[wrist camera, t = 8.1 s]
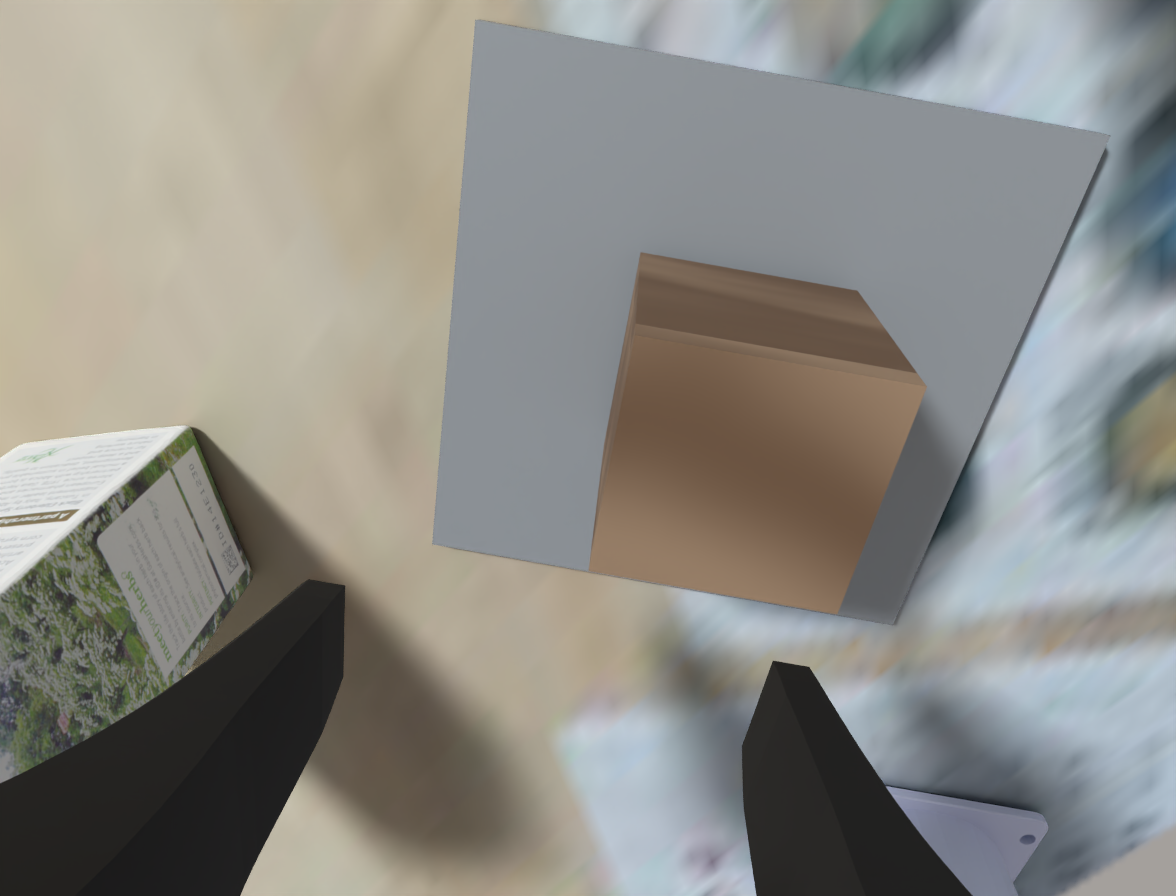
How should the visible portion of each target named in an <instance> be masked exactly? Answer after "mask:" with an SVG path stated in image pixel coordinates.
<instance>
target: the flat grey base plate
mask: <svg viewBox="0 0 1176 896" xmlns="http://www.w3.org/2000/svg"><path fill="white" fill-rule="evenodd" d="M1109 138H1110V136H1109V135H1106V134H1102V133H1098V132H1092V131H1087V130H1081V129H1076V128H1070V127H1065V126H1059V125H1054V124H1048V123H1043V122H1037V121H1032V120H1027V119H1021V118H1016V117H1010V116H1005V115H999V114H994V113H988V112H983V111H977V110H972V109H966V108H961V107H955V106H950V105H944V104H939V103H933V102H928V101H922V100H917V99H911V98H906V97H901V96H895V95H890V94H884V93H879V92H873V91H868V90H862V89H857V88H851V87H846V86H840V85H835V84H829V83H824V82H818V81H813V80H807V79H802V78H796V77H791V76H785V75H780V74H774V73H769V72H764V71H758V70H753V69H747V68H742V67H736V66H731V65H725V64H720V63H714V62H709V61H703V60H698V59H692V58H687V57H681V56H676V55H670V54H665V53H659V52H654V51H648V50H643V49H638V48H632V47H627V46H621V45H616V44H610V43H605V42H599V41H594V40H588V39H583V38H577V37H572V36H566V35H561V34H555V33H550V32H544V31H539V30H533V29H528V28H522V27H517V26H512V25H506V24H501V23H495V22H490V21H484V20H475V31H474V43H473V55H472V67H471V80H470V92H469V104H468V116H467V128H466V140H465V153H464V165H463V177H462V189H461V201H460V214H459V226H458V238H457V250H456V262H455V274H454V287H453V299H452V311H451V323H450V335H449V347H448V360H447V372H446V384H445V396H444V408H443V420H442V433H441V445H440V457H439V469H438V481H437V493H436V506H435V518H434V530H433V542H432V544H434V545H440V546H445V547H451V548H457V549H463V550H468V551H474V552H480V553H485V554H491V555H497V556H502V557H508V558H514V559H519V560H525V561H531V562H536V563H542V564H548V565H553V566H559V567H565V568H570V569H576V570H582V571H588V572H591V571H589V562H590V554H591V546H592V538H593V530H594V522H595V514H596V506H597V497H598V489H599V481H600V473H601V465H602V457H603V449H604V442H605V436H606V431H607V426H608V421H609V415H610V410H611V405H612V400H613V394H614V389H615V384H616V379H617V373H618V368H619V363H620V358H621V352H622V347H623V342H624V337H625V331H626V326H627V321H628V316H629V310H630V305H631V300H632V295H633V289H634V284H635V279H636V274H637V268H638V263H639V258H640V253H641V252H643V253H648V254H654V255H660V256H665V257H671V258H676V259H682V260H688V261H693V262H699V263H705V264H710V265H716V266H722V267H727V268H733V269H738V270H744V271H750V272H755V273H761V274H767V275H772V276H778V277H784V278H789V279H795V280H801V281H806V282H812V283H817V284H823V285H829V286H834V287H840V288H846V289H851V290H857V291H858V292H859V293H860V295H861V296H862V297H863V299H864V300H865V302H866V303H867V304H868V306H869V307H870V309H871V310H872V311H873V313H874V314H875V315H876V317H877V318H878V320H879V321H880V322H881V324H882V325H883V327H884V328H885V329H886V331H887V332H888V333H889V335H890V336H891V338H892V339H893V340H894V342H895V343H896V344H897V346H898V347H899V349H900V350H901V351H902V353H903V354H904V356H905V357H906V358H907V360H908V361H909V362H910V364H911V365H912V367H913V368H914V369H915V371H916V372H917V374H918V375H919V376H920V378H921V379H922V380H923V382H924V383H925V385H926V386H927V388H926V391H925V393H924V396H923V398H922V401H921V404H920V406H919V409H918V411H917V414H916V416H915V419H914V421H913V424H912V426H911V429H910V431H909V434H908V436H907V439H906V442H905V444H904V447H903V449H902V452H901V454H900V457H899V459H898V462H897V464H896V467H895V469H894V472H893V474H892V477H891V480H890V482H889V485H888V487H887V490H886V492H885V495H884V497H883V500H882V502H881V505H880V507H879V510H878V512H877V515H876V518H875V520H874V523H873V525H872V528H871V530H870V533H869V535H868V538H867V540H866V543H865V545H864V548H863V550H862V553H861V556H860V558H859V561H858V563H857V566H856V568H855V571H854V573H853V576H852V578H851V581H850V583H849V586H848V588H847V591H846V594H845V596H844V599H843V601H842V604H841V606H840V609H839V611H838V614H832V613H826V612H821V611H815V610H809V609H803V608H798V607H792V606H786V605H781V606H786V607H792V608H798V609H803V610H809V611H815V612H820V613H826V614H832V615H838V616H843V617H849V618H855V619H860V620H866V621H872V622H877V623H883V624H889V625H893V624H894V621H895V619H896V617H897V615H898V612H899V610H900V608H901V606H902V603H903V601H904V599H905V597H906V594H907V592H908V590H909V588H910V586H911V583H912V581H913V579H914V577H915V574H916V572H917V570H918V568H919V565H920V563H921V561H922V559H923V556H924V554H925V552H926V550H927V547H928V545H929V543H930V541H931V538H932V536H933V534H934V532H935V529H936V527H937V525H938V523H939V520H940V518H941V516H942V514H943V511H944V509H945V507H946V505H947V502H948V500H949V498H950V496H951V493H952V491H953V489H954V487H955V484H956V482H957V480H958V478H959V475H960V473H961V471H962V469H963V466H964V464H965V462H966V460H967V457H968V455H969V453H970V451H971V448H972V446H973V444H974V442H975V439H976V437H977V435H978V433H979V430H980V428H981V426H982V424H983V421H984V419H985V417H986V415H987V412H988V410H989V408H990V406H991V403H992V401H993V399H994V397H995V394H996V392H997V390H998V388H999V385H1000V383H1001V381H1002V379H1003V376H1004V374H1005V372H1006V370H1007V367H1008V365H1009V363H1010V361H1011V358H1012V356H1013V354H1014V352H1015V349H1016V347H1017V345H1018V343H1019V340H1020V338H1021V336H1022V334H1023V331H1024V329H1025V327H1026V325H1027V322H1028V320H1029V318H1030V316H1031V314H1032V311H1033V309H1034V307H1035V305H1036V302H1037V300H1038V298H1039V296H1040V293H1041V291H1042V289H1043V287H1044V284H1045V282H1046V280H1047V278H1048V275H1049V273H1050V271H1051V269H1052V266H1053V264H1054V262H1055V260H1056V257H1057V255H1058V253H1059V251H1060V248H1061V246H1062V244H1063V242H1064V239H1065V237H1066V235H1067V233H1068V230H1069V228H1070V226H1071V224H1072V221H1073V219H1074V217H1075V215H1076V212H1077V210H1078V208H1079V206H1080V203H1081V201H1082V199H1083V197H1084V194H1085V192H1086V190H1087V188H1088V185H1089V183H1090V181H1091V179H1092V176H1093V174H1094V172H1095V170H1096V167H1097V165H1098V163H1099V161H1100V158H1101V156H1102V154H1103V152H1104V149H1105V147H1106V145H1107V143H1108V140H1109ZM593 573H596V572H593ZM599 574H602V573H599ZM605 575H608V574H605ZM610 576H614V575H610ZM616 577H619V576H616ZM622 578H625V577H622ZM627 579H631V578H627ZM633 580H637V579H633ZM639 581H642V580H639ZM644 582H648V581H644ZM650 583H654V582H650ZM656 584H660V583H656ZM661 585H665V584H661ZM667 586H671V585H667ZM673 587H677V586H673ZM678 588H683V587H678ZM684 589H688V588H684ZM690 590H694V589H690ZM695 591H700V590H695ZM701 592H706V591H701ZM707 593H711V592H707ZM713 594H717V593H713ZM718 595H723V594H718ZM724 596H729V595H724ZM730 597H734V596H730ZM735 598H740V597H735ZM741 599H746V598H741ZM747 600H752V599H747ZM752 601H757V600H752ZM758 602H763V601H758ZM764 603H769V602H764ZM769 604H775V603H769ZM775 605H780V604H775Z"/></svg>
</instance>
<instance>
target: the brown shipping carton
mask: <svg viewBox="0 0 1176 896" xmlns="http://www.w3.org/2000/svg"><path fill="white" fill-rule="evenodd" d="M926 388H927V386H926V385H925V383H924V382H923V380H922V379H921V378H920V376H919V375H918V374H917V372H916V371H915V369H914V368H913V367H912V365H911V364H910V362H909V361H908V360H907V358H906V357H905V356H904V354H903V353H902V351H901V350H900V349H899V347H898V346H897V344H896V343H895V342H894V340H893V339H892V338H891V336H890V335H889V333H888V332H887V331H886V329H885V328H884V327H883V325H882V324H881V322H880V321H879V320H878V318H877V317H876V315H875V314H874V313H873V311H872V310H871V309H870V307H869V306H868V304H867V303H866V302H865V300H864V299H863V297H862V296H861V295H860V293H859V292H858V291H857V290H851V289H846V288H840V287H834V286H829V285H823V284H817V283H812V282H806V281H801V280H795V279H789V278H784V277H778V276H772V275H767V274H761V273H755V272H750V271H744V270H738V269H733V268H727V267H722V266H716V265H710V264H705V263H699V262H693V261H688V260H682V259H676V258H671V257H665V256H660V255H654V254H648V253H643V252H641V253H640V258H639V263H638V268H637V274H636V279H635V284H634V289H633V295H632V300H631V305H630V310H629V316H628V321H627V326H626V331H625V337H624V342H623V347H622V352H621V358H620V363H619V368H618V373H617V379H616V384H615V389H614V394H613V400H612V405H611V410H610V415H609V421H608V426H607V431H606V436H605V442H604V449H603V457H602V465H601V473H600V481H599V489H598V497H597V506H596V514H595V522H594V530H593V538H592V546H591V554H590V562H589V571H591V572H596V573H602V574H608V575H614V576H619V577H625V578H631V579H637V580H642V581H648V582H654V583H660V584H665V585H671V586H677V587H683V588H688V589H694V590H700V591H706V592H711V593H717V594H723V595H729V596H734V597H740V598H746V599H752V600H757V601H763V602H769V603H775V604H780V605H786V606H792V607H798V608H803V609H809V610H815V611H821V612H826V613H832V614H838V611H839V609H840V606H841V604H842V601H843V599H844V596H845V594H846V591H847V588H848V586H849V583H850V581H851V578H852V576H853V573H854V571H855V568H856V566H857V563H858V561H859V558H860V556H861V553H862V550H863V548H864V545H865V543H866V540H867V538H868V535H869V533H870V530H871V528H872V525H873V523H874V520H875V518H876V515H877V512H878V510H879V507H880V505H881V502H882V500H883V497H884V495H885V492H886V490H887V487H888V485H889V482H890V480H891V477H892V474H893V472H894V469H895V467H896V464H897V462H898V459H899V457H900V454H901V452H902V449H903V447H904V444H905V442H906V439H907V436H908V434H909V431H910V429H911V426H912V424H913V421H914V419H915V416H916V414H917V411H918V409H919V406H920V404H921V401H922V398H923V396H924V393H925V391H926Z"/></svg>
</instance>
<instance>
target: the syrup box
mask: <svg viewBox="0 0 1176 896" xmlns="http://www.w3.org/2000/svg"><path fill="white" fill-rule="evenodd" d="M252 578H253V573H252V571H251V568H250V566H249V564H248V561H247V559H246V556H245V553H244V551H243V549H242V547H241V545H240V543H239V541H238V538H237V535H236V533H235V531H234V528H233V526H232V524H231V521H230V519H229V516H228V514H227V512H226V509H225V507H224V505H223V502H222V500H221V497H220V495H219V493H218V491H217V488H216V486H215V484H214V481H213V479H212V476H211V474H210V471H209V469H208V466H207V464H206V462H205V459H204V457H203V455H202V452H201V449H200V446H199V445H198V443H197V440H196V438H195V436H194V434H193V432H192V429H191V428H190V427H189V426H187V425H183V426H172V427H161V428H151V429H140V430H130V431H122V432H113V433H105V434H96V435H87V436H79V437H71V438H62V439H52V440H45V441H37V442H28V443H25V444H21V445H19V446H17V447H16V448H14V449H13V450H11V451H10V452H8V453H7V454H5V455H4V456H2V457H1V458H0V783H2V782H4V781H6V780H8V779H11V778H13V777H15V776H17V775H19V774H21V773H23V772H25V771H27V770H29V769H31V768H33V767H35V766H36V765H38V764H40V763H42V762H44V761H46V760H48V759H50V758H52V757H54V756H56V755H58V754H60V753H61V752H63V751H65V750H67V749H69V748H71V747H73V746H75V745H77V744H78V743H80V742H82V741H84V740H86V739H88V738H89V737H91V736H93V735H95V734H96V733H98V732H100V731H102V730H103V729H105V728H107V727H108V726H110V725H111V724H113V723H115V722H116V721H118V720H120V719H121V718H123V717H125V716H126V715H128V714H130V713H131V712H133V711H134V710H136V709H138V708H139V707H141V706H142V705H144V704H145V703H147V702H148V701H150V700H151V699H153V698H154V697H156V696H157V695H159V694H160V693H162V692H163V691H165V690H166V689H168V688H169V687H170V686H172V685H173V684H175V683H176V682H177V681H179V680H180V679H182V678H183V677H184V676H185V674H186V673H187V671H188V670H189V669H190V667H191V666H192V664H193V663H194V661H195V660H196V658H197V657H198V656H199V654H200V653H201V652H202V650H203V649H204V647H205V646H206V645H207V643H208V641H209V640H210V638H211V637H212V636H213V634H214V633H215V631H216V630H217V629H218V627H219V626H220V624H221V623H222V621H223V619H224V618H225V616H226V615H227V614H228V613H229V611H230V610H231V608H232V607H233V606H234V605H235V603H236V601H237V600H238V599H239V598H240V596H241V595H242V593H243V591H244V590H245V588H246V587H247V586H248V584H249V583H250V581H251V580H252Z"/></svg>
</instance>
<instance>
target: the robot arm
mask: <svg viewBox="0 0 1176 896" xmlns="http://www.w3.org/2000/svg"><path fill="white" fill-rule="evenodd" d="M344 609H345V586H344V585H338V584H332V583H327V582H321V581H315V580H307V581H305V582H304V583H302V584H301V585H300V586H299V587H297V588H296V589H295V590H294V591H293V592H291V593H290V594H289V595H288V596H287V597H286V598H284V599H283V600H282V601H281V602H280V603H278V604H277V605H276V606H275V607H274V608H272V609H271V610H270V611H269V612H268V613H266V614H265V615H264V616H263V617H262V618H260V619H259V620H258V621H257V622H255V623H254V624H253V625H252V626H251V627H249V628H248V629H247V630H246V631H244V632H243V633H242V634H241V635H239V636H238V637H237V638H235V639H234V640H233V641H232V642H230V643H229V644H228V645H226V646H225V647H224V648H223V649H221V650H220V651H219V652H217V653H216V654H215V655H214V656H212V657H211V658H210V659H208V660H207V661H206V662H204V663H203V664H202V665H200V666H199V667H197V668H196V669H194V670H193V671H192V672H190V673H189V674H187V675H186V676H185V677H183V678H182V679H180V680H179V681H177V682H176V683H175V684H173V685H172V686H170V687H169V688H168V689H166V690H165V691H163V692H162V693H160V694H159V695H157V696H156V697H154V698H153V699H151V700H150V701H148V702H147V703H145V704H144V705H142V706H141V707H139V708H138V709H136V710H134V711H133V712H131V713H130V714H128V715H126V716H125V717H123V718H121V719H120V720H118V721H116V722H115V723H113V724H111V725H110V726H108V727H107V728H105V729H103V730H102V731H100V732H98V733H96V734H95V735H93V736H91V737H89V738H88V739H86V740H84V741H82V742H80V743H78V744H77V745H75V746H73V747H71V748H69V749H67V750H65V751H63V752H61V753H60V754H58V755H56V756H54V757H52V758H50V759H48V760H46V761H44V762H42V763H40V764H38V765H36V766H35V767H33V768H31V769H29V770H27V771H25V772H23V773H21V774H19V775H17V776H15V777H13V778H11V779H8V780H6V781H4V782H2V783H0V896H240V895H241V893H242V890H243V888H244V885H245V883H246V881H247V879H248V877H249V875H250V873H251V870H252V868H253V866H254V864H255V862H256V860H257V858H258V856H259V854H260V852H261V850H262V848H263V846H264V844H265V842H266V840H267V838H268V837H269V835H270V833H271V831H272V829H273V827H274V825H275V823H276V821H277V819H278V817H279V815H280V814H281V812H282V810H283V808H284V806H285V804H286V802H287V800H288V798H289V796H290V794H291V792H292V791H293V789H294V787H295V785H296V783H297V781H298V779H299V777H300V775H301V773H302V771H303V769H304V767H305V765H306V763H307V762H308V760H309V758H310V756H311V754H312V752H313V750H314V748H315V746H316V744H317V742H318V740H319V738H320V736H321V734H322V732H323V729H324V727H325V724H326V721H327V719H328V716H329V714H330V711H331V709H332V706H333V703H334V700H335V698H336V695H337V692H338V689H339V687H340V684H341V681H342V679H343V662H344ZM742 768H743V801H744V812H745V820H746V827H747V834H748V841H749V848H750V855H751V861H752V868H753V875H754V881H755V888H756V895H757V896H1018V893H1017V891H1016V889H1015V886H1014V884H1013V882H1014V881H1015V879H1016V878H1017V876H1018V875H1019V873H1020V872H1021V870H1022V869H1023V867H1024V866H1025V864H1026V863H1027V861H1028V860H1029V858H1030V857H1031V855H1032V854H1033V852H1034V851H1035V849H1036V848H1037V846H1038V845H1039V843H1040V842H1041V840H1042V839H1043V837H1044V836H1045V834H1046V833H1047V831H1048V828H1049V827H1048V824H1047V822H1046V820H1045V818H1044V816H1043V815H1041V814H1040V813H1037V812H1032V811H1027V810H1021V809H1015V808H1009V807H1004V806H998V805H992V804H986V803H981V802H975V801H969V800H963V799H958V798H952V797H946V796H940V795H935V794H929V793H923V792H917V791H912V790H906V789H900V788H894V787H889V786H885V785H884V783H883V782H882V780H881V779H880V777H879V776H878V775H877V773H876V772H875V770H874V769H873V767H872V766H871V764H870V763H869V761H868V760H867V758H866V757H865V755H864V754H863V752H862V751H861V749H860V748H859V746H858V744H857V743H856V741H855V740H854V738H853V737H852V735H851V734H850V732H849V730H848V729H847V727H846V726H845V724H844V722H843V721H842V719H841V718H840V716H839V714H838V713H837V711H836V709H835V708H834V706H833V705H832V703H831V701H830V700H829V698H828V696H827V695H826V693H825V691H824V690H823V688H822V687H821V685H820V683H819V682H818V680H817V678H816V677H815V675H814V674H813V672H812V671H811V669H810V668H809V667H806V666H800V665H794V664H789V663H783V662H777V661H773V662H772V665H771V668H770V670H769V673H768V676H767V679H766V681H765V684H764V687H763V690H762V693H761V695H760V698H759V701H758V704H757V706H756V709H755V712H754V715H753V717H752V720H751V723H750V726H749V728H748V731H747V734H746V737H745V740H744V742H743V745H742Z"/></svg>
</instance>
